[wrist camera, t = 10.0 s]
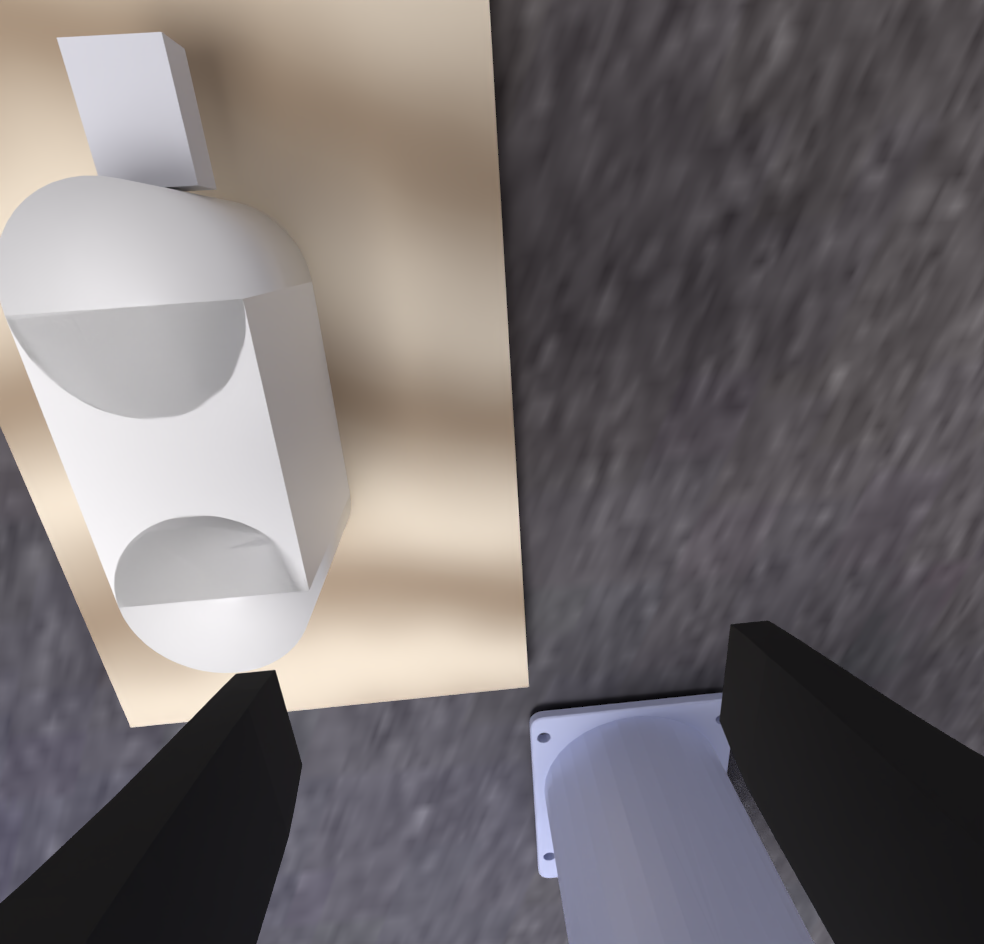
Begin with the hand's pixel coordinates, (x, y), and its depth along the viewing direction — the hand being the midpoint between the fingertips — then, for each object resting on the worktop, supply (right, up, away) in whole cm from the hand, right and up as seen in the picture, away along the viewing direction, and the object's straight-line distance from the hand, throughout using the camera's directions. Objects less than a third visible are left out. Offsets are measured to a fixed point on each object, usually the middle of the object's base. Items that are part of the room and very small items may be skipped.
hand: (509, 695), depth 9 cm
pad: (-7, +6, +7) cm, 12 cm away
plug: (-7, +7, +6) cm, 11 cm away
